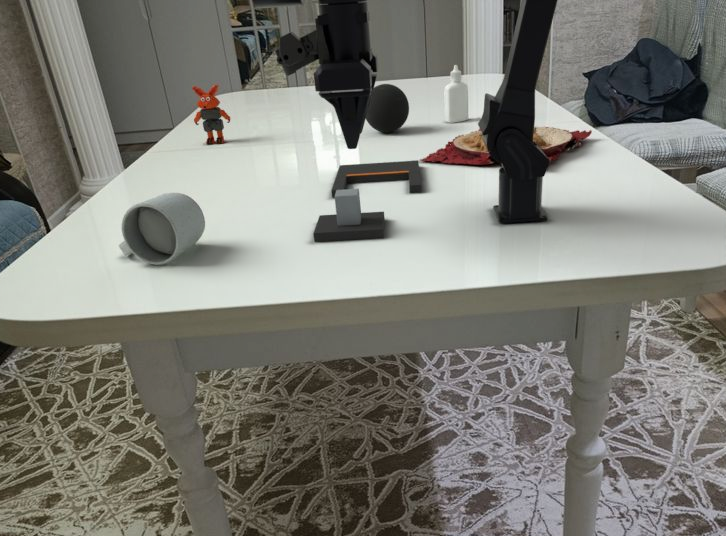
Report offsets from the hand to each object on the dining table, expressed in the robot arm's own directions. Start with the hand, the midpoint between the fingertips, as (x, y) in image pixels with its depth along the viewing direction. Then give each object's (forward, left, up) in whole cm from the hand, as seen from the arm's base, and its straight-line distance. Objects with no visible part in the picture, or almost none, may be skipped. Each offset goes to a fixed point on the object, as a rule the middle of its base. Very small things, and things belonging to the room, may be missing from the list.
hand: (355, 140), depth 82 cm
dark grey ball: (+63, -2, -11) cm, 64 cm away
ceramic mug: (-7, +26, -11) cm, 29 cm away
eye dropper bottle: (+71, -18, -11) cm, 74 cm away
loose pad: (-2, +2, -11) cm, 12 cm away
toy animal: (+63, +37, -11) cm, 73 cm away
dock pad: (+22, -1, -11) cm, 24 cm away
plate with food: (+38, -25, -11) cm, 47 cm away
